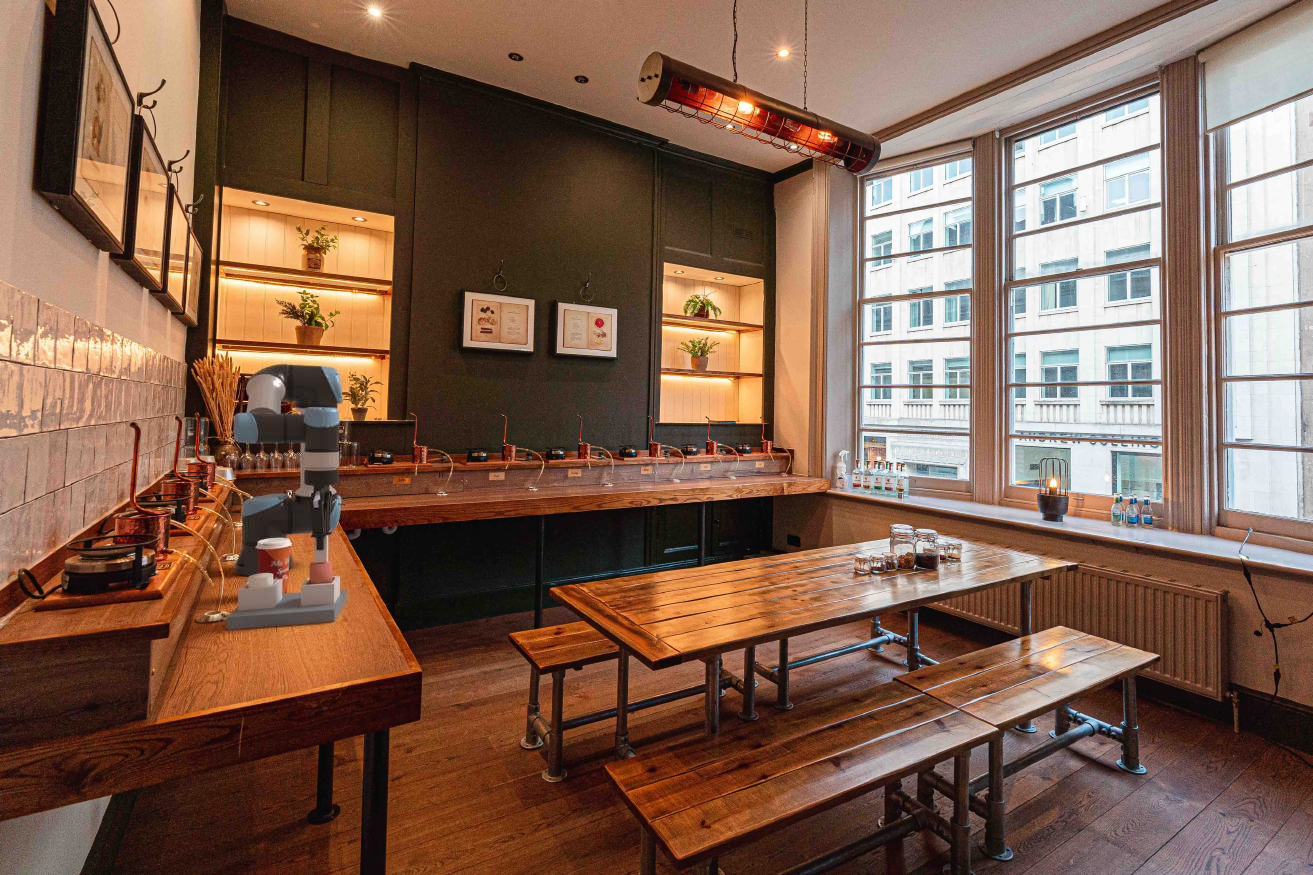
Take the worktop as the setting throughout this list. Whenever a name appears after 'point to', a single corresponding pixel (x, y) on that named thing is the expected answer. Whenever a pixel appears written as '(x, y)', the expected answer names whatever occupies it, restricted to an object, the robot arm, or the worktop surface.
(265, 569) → the coffee cup
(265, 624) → the board
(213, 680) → the worktop surface
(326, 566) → the red plug
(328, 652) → the worktop surface
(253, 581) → the plug
